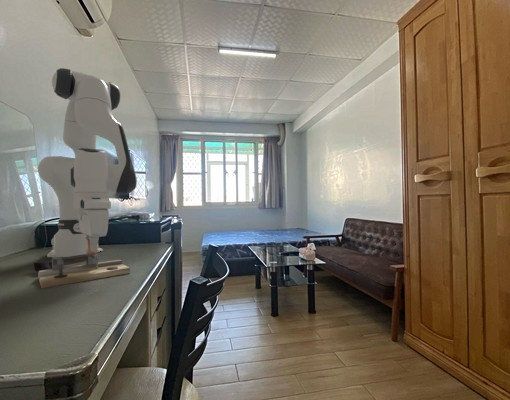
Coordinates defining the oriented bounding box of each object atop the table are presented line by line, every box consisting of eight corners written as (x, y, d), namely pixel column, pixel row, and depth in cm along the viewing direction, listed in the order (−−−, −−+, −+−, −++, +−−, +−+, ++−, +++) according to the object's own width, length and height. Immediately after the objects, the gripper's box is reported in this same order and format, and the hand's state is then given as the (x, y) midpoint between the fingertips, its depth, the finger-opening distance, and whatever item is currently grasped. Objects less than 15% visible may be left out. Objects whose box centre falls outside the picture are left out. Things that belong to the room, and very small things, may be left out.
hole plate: (38, 278, 73) (38, 258, 73) (117, 266, 86) (117, 249, 86) (41, 288, 64) (41, 265, 64) (129, 273, 77) (129, 253, 77)
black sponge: (47, 275, 77) (47, 263, 77) (31, 273, 80) (31, 260, 80) (101, 264, 91) (101, 253, 91) (85, 262, 95) (85, 251, 95)
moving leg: (86, 265, 79) (86, 239, 79) (95, 264, 80) (95, 238, 80) (91, 269, 73) (91, 241, 73) (101, 268, 74) (101, 241, 75)
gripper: (73, 203, 84) (73, 247, 84) (85, 202, 69) (86, 256, 69) (96, 203, 89) (96, 245, 88) (112, 202, 73) (113, 252, 73)
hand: (91, 250), depth 78 cm, fingers closed on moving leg, 2 cm apart
